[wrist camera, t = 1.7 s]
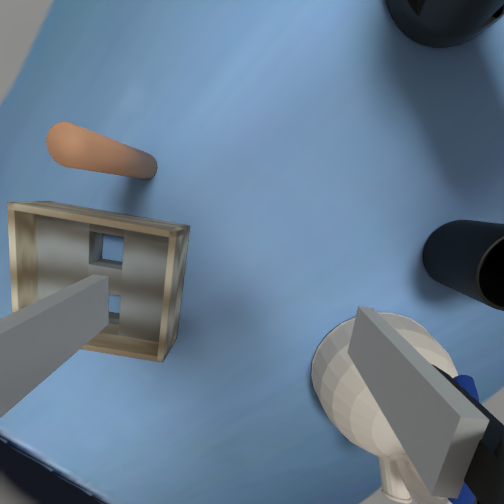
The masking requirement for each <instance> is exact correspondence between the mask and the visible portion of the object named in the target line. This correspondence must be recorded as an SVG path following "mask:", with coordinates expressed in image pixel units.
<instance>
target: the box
mask: <svg viewBox="0 0 504 504" xmlns="http://www.w3.org/2000/svg"><path fill="white" fill-rule="evenodd" d="M7 211H8V232H9V253H10V273H11V294H12V313H14V312H16V311H18V310H20V309H22V308H24V307H26V306H29V305H31V304H33V303H35V302H37V301H39V300H41V299H43V298H45V297H47V296H49V295H51V294H54V293H56V292H58V291H60V290H62V289H64V288H66V287H68V286H70V285H72V284H74V283H77V282H79V281H81V280H83V279H85V278H87V277H89V276H91V275H93V274H95V275H103V276H108V294H114V295H120V296H121V300H120V314H119V313H113V312H109V324H108V325H107V326H106V327H105V328H104V329H102V330H101V331H100V332H99V333H98V334H97V335H96V336H94V337H93V338H92V339H91V340H90V341H89V342H87V343H86V344H85V345H84V346H83V347H82V348H81V349H83V350H89V351H95V352H101V353H107V354H114V355H120V356H126V357H132V358H138V359H144V360H150V361H157V362H163V361H164V360H165V358H166V356H167V354H168V353H169V351H170V349H171V347H172V345H173V344H174V342H175V340H176V338H177V333H178V324H179V316H180V307H181V299H182V290H183V282H184V273H185V265H186V256H187V248H188V239H189V231H190V226H188V225H183V224H177V223H171V222H165V221H160V220H154V219H148V218H143V217H137V216H131V215H125V214H120V213H114V212H108V211H102V210H97V209H91V208H85V207H80V206H74V205H68V204H62V203H57V202H51V201H37V202H7ZM103 233H104V234H110V235H115V236H121V237H124V248H123V262H118V261H113V260H107V259H102V245H103Z"/></svg>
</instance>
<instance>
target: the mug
mask: <svg viewBox="0 0 504 504" xmlns="http://www.w3.org/2000/svg"><path fill="white" fill-rule="evenodd" d="M423 262H424V266H425V269H426V271H427V272H428V274H429V275H430V276H431V277H432V278H433V279H434V280H436V281H437V282H440V283H442V284H444V285H446V286H448V287H450V288H452V289H454V290H457V291H459V292H461V293H463V294H465V295H467V296H469V297H471V298H473V299H476V300H478V301H480V302H482V303H484V304H486V305H488V306H490V307H493V308H495V309H498V310H502V311H504V224H497V223H488V222H480V221H471V220H458V221H453V222H450V223H448V224H446V225H444V226H442V227H440V228H439V229H438V230H436V231H435V232H434V233H433V234H432V235H431V237H430V238H429V240H428V241H427V243H426V245H425V248H424V252H423Z"/></svg>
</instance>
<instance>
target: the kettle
mask: <svg viewBox="0 0 504 504" xmlns="http://www.w3.org/2000/svg"><path fill="white" fill-rule="evenodd" d="M377 313H378V312H377ZM378 314H379V315H380V316H381V317H382V318H383V319H385V320H386V321H387V322H388V323H389V324H390V325H391V326H392V327H393V328H394V329H395V330H396V331H397V332H398V333H399V334H400V335H401V336H402V337H403V338H404V339H405V340H406V341H407V342H409V343H410V344H411V345H412V346H413V347H414V348H415V349H416V350H417V351H418V352H419V353H420V354H421V355H422V356H423V357H424V358H425V359H426V360H427V361H428V362H429V363H430V364H432V365H435V366H436V367H438V368H440V369H441V370H443V371H444V372H446V373H447V374H449V375H450V376H451V377H452V378H453V379H454V380H455V381H456V382H457V383H458V384H460V387H463V388H464V389H465V390H466V391H467V392H468V393H469V394H470V396H471V397H474V398H475V399H476V400H477V401H478V402H479V398H478V393H477V390H476V387H475V384H474V380H473V378H472V377H470V376H467V375H459V376H458V373H457V371H456V369H455V367H454V364H453V362H452V360H451V358H450V356H449V354H448V353H447V352H446V351H445V350H444V349H443V347H442V346H441V345H440V344H439V343H438V342H437V341H436V340H435V339H434V338H433V337H432V336H431V335H430V334H429V333H428V332H427V331H426V330H425V328H424V327H423V326H422V325H420V324H418V323H417V322H415V321H413V320H412V319H410V318H408V317H405V316H401V315H398V314H394V313H378ZM355 318H356V317H354V318H352V319H350V320H348V321H346V322H343V323H341V324H340V325H339V326H337V327H336V328H335V329H334V330H332V331H331V332H330V333H329V334H328V335H327V336H326V337H325V339H324V340H323V341H322V342H321V344H320V345H319V346H318V348H317V351H316V353H315V356H314V358H313V361H312V372H311V377H312V382H313V386H314V390H315V391H316V393H317V395H318V398H319V400H320V402H321V404H322V407H323V409H324V411H325V412H326V414H327V416H328V418H329V419H330V421H331V422H332V423H333V424H334V425H335V426H336V428H337V429H338V430H339V431H340V432H341V433H342V434H343V435H344V436H345V437H346V438H347V439H348V440H350V441H351V442H352V443H353V444H355V445H357V446H359V447H361V448H363V449H365V450H367V451H369V452H371V453H372V454H374V455H376V456H378V457H379V464H380V472H381V480H382V490H381V491H382V493H383V494H384V495H385V496H386V497H387V498H389V499H391V500H393V501H397V502H400V503H407V504H408V503H410V502H411V501H412V498H411V497H410V494H411V495H412V497H413V498H414V499H415V501H416V502H417V503H418V504H473V502H474V499H475V496H474V494H473V493H472V492H471V490H470V489H469V487H468V486H467V485H466V483H465V482H464V484H463V486H462V489H461V491H460V494H459V496H458V499H455V498H446V497H445V498H443V499H442V500H440V499H438V498H436V497H435V496H431V495H430V493H429V491H428V490H427V488H426V486H425V484H424V483H423V481H422V479H421V478H420V476H419V474H418V472H417V471H416V469H415V467H414V466H413V464H412V462H411V461H410V459H409V457H408V455H407V454H406V452H405V450H404V449H403V447H402V445H401V443H400V442H399V440H398V438H397V437H396V435H395V433H394V431H393V430H392V428H391V426H390V425H389V423H388V421H387V419H386V418H385V416H384V414H383V413H382V411H381V409H380V407H379V406H378V404H377V402H376V401H375V399H374V397H373V396H372V394H371V392H370V390H369V389H368V387H367V385H366V384H365V382H364V380H363V378H362V377H361V375H360V373H359V372H358V370H357V368H356V366H355V365H354V363H353V361H352V360H351V358H350V356H349V354H348V353H347V352H348V348H349V344H350V339H351V335H352V331H353V327H354V322H355Z"/></svg>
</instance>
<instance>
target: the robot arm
mask: <svg viewBox="0 0 504 504" xmlns="http://www.w3.org/2000/svg"><path fill="white" fill-rule="evenodd" d="M386 1H387V5H388V8H389V11H390V13H391V15H392V17H393V19H394V21H395V23H396V24H397V26H398V27H399V28H400V29H401V30H402V31H403V32H404V33H405V34H406V35H407V36H408V37H409V38H411V39H412V40H414V41H416V42H418V43H420V44H423V45H426V46H430V47H450V46H455V45H458V44H461V43H464V42H466V41H468V40H470V39H472V38H474V37H475V36H477V35H478V34H480V33H481V32H483V31H484V30H485V29H487V28H488V27H489V26H491V25H492V24H493V23H495V22H496V21H497V20H499V19H500V18H501V17H502V16H503V15H504V0H386ZM108 324H109V308H108V276H103V275H95V274H93V275H91V276H89V277H87V278H85V279H83V280H81V281H79V282H77V283H74V284H72V285H70V286H68V287H66V288H64V289H62V290H60V291H58V292H56V293H54V294H51V295H49V296H47V297H45V298H43V299H41V300H39V301H37V302H35V303H33V304H31V305H29V306H26V307H24V308H22V309H20V310H18V311H16V312H14V313H12V314H10V315H8V316H6V317H4V318H1V319H0V418H1V417H2V416H3V415H4V414H6V413H7V412H8V411H9V410H10V409H11V408H12V407H14V406H15V405H16V404H17V403H18V402H19V401H21V400H22V399H23V398H24V397H25V396H26V395H27V394H29V393H30V392H31V391H32V390H33V389H34V388H36V387H37V386H38V385H39V384H40V383H41V382H42V381H44V380H45V379H46V378H47V377H48V376H49V375H51V374H52V373H53V372H54V371H55V370H56V369H57V368H59V367H60V366H61V365H62V364H63V363H64V362H66V361H67V360H68V359H69V358H70V357H71V356H72V355H74V354H75V353H76V352H77V351H78V350H79V349H81V348H82V347H83V346H84V345H85V344H86V343H87V342H89V341H90V340H91V339H92V338H93V337H94V336H96V335H97V334H98V333H99V332H100V331H101V330H102V329H104V328H105V327H106V326H107V325H108ZM347 353H348V354H349V356H350V358H351V360H352V361H353V363H354V365H355V366H356V368H357V370H358V372H359V373H360V375H361V377H362V378H363V380H364V382H365V384H366V385H367V387H368V389H369V390H370V392H371V394H372V396H373V397H374V399H375V401H376V402H377V404H378V406H379V407H380V409H381V411H382V413H383V414H384V416H385V418H386V419H387V421H388V423H389V425H390V426H391V428H392V430H393V431H394V433H395V435H396V437H397V438H398V440H399V442H400V443H401V445H402V447H403V449H404V450H405V452H406V454H407V455H408V457H409V459H410V461H411V462H412V464H413V466H414V467H415V469H416V471H417V472H418V474H419V476H420V478H421V479H422V481H423V483H424V484H425V486H426V488H427V490H428V491H429V493H430V495H431V496H438V497H446V498H455V499H458V496H459V494H460V491H461V489H462V486H463V484H464V482H465V483H466V485H467V486H468V487H469V489H470V490H471V492H472V493H473V494H474V496H475V499H474V502H473V504H504V425H503V424H502V423H501V422H499V421H498V420H497V419H496V418H495V417H494V416H493V415H492V414H491V413H489V411H488V410H487V409H485V408H484V407H483V406H482V405H481V404H480V403H479V402H478V401H477V400H476V399H475V398H474V397H471V396H470V394H469V393H468V392H467V391H466V390H465V389H464V388H463V387H460V384H458V383H457V382H456V381H455V380H454V379H453V378H452V377H451V376H450V375H449V374H447V373H446V372H444V371H443V370H441V369H440V368H438V367H436V366H435V365H432V364H430V363H429V362H428V361H427V360H426V359H425V358H424V357H423V356H422V355H421V354H420V353H419V352H418V351H417V350H416V349H415V348H414V347H413V346H412V345H411V344H410V343H409V342H407V341H406V340H405V339H404V338H403V337H402V336H401V335H400V334H399V333H398V332H397V331H396V330H395V329H394V328H393V327H392V326H391V325H390V324H389V323H388V322H387V321H386V320H385V319H383V318H382V317H381V316H380V315H379V314H378V313H377V312H376V311H375V310H374V309H373V308H367V307H359V306H358V310H357V314H356V318H355V322H354V327H353V331H352V335H351V339H350V344H349V348H348V352H347Z"/></svg>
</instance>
